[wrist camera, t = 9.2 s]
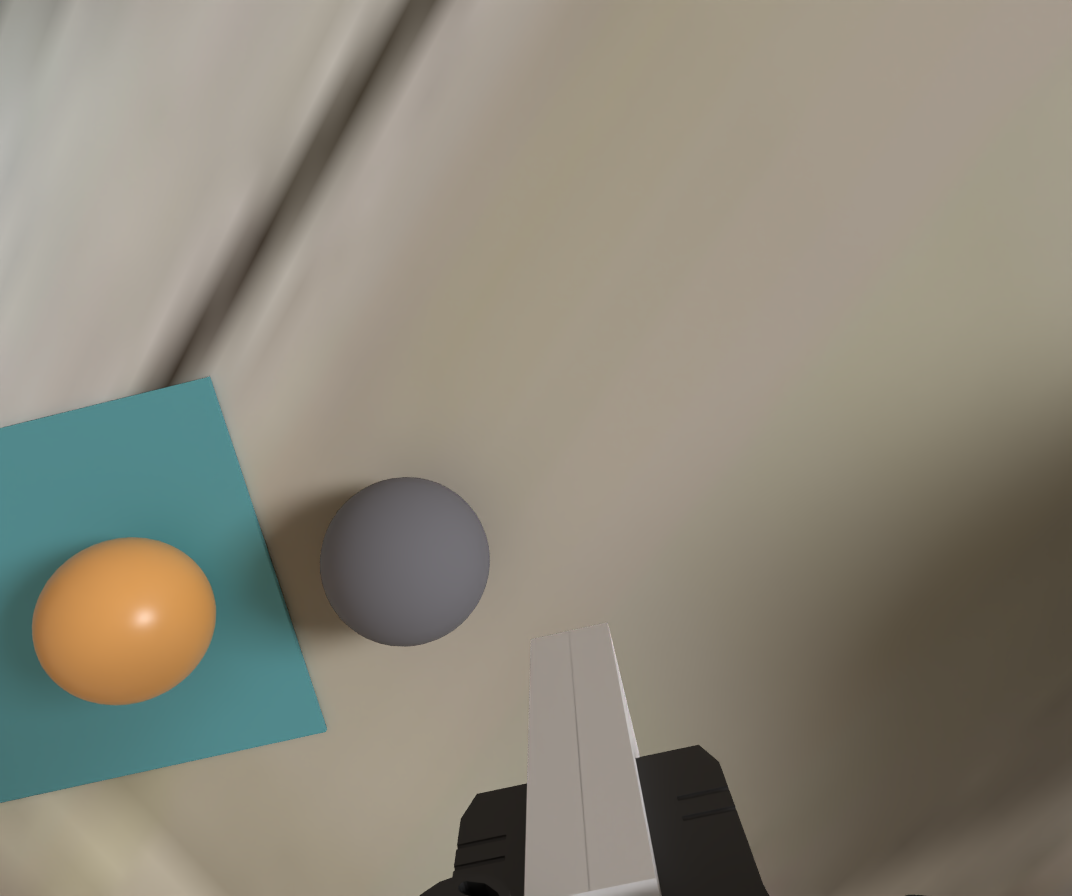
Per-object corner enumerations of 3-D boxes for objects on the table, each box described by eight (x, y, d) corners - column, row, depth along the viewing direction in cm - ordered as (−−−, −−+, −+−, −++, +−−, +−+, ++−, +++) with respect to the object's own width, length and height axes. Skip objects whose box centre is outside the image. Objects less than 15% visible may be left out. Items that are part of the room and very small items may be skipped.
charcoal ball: (322, 544, 22) (276, 504, 27) (387, 706, 24) (333, 642, 29) (490, 465, 25) (421, 440, 29) (539, 618, 26) (466, 572, 31)
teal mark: (209, 376, 28) (207, 377, 28) (326, 728, 31) (325, 731, 31) (-162, 468, 29) (-167, 469, 29) (-13, 803, 32) (-17, 806, 32)
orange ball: (146, 551, 24) (-35, 599, 24) (209, 712, 25) (37, 759, 25) (206, 499, 29) (58, 539, 29) (256, 635, 31) (113, 673, 31)
